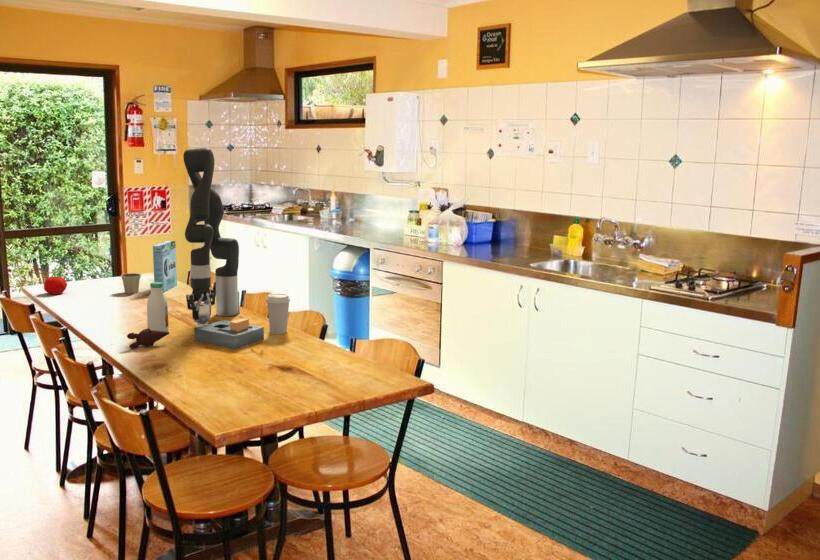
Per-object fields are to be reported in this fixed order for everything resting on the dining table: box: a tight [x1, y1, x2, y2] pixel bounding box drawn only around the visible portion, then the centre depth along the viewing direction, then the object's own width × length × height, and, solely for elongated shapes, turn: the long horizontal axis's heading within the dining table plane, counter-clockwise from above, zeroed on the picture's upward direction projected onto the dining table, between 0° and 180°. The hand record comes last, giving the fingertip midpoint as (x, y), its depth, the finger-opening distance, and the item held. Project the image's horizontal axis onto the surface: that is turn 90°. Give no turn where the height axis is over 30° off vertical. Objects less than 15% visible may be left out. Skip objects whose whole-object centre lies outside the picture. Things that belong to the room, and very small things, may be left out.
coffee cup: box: [265, 292, 291, 335], centre depth 296 cm, size 10×10×15 cm
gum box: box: [152, 240, 178, 293], centre depth 373 cm, size 20×5×23 cm, turn 178°
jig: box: [193, 319, 265, 350], centre depth 283 cm, size 16×20×6 cm
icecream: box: [126, 327, 170, 350], centre depth 273 cm, size 7×7×15 cm
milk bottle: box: [146, 281, 169, 332], centre depth 290 cm, size 8×8×20 cm
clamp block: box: [230, 317, 250, 332], centre depth 280 cm, size 7×3×3 cm, turn 151°
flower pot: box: [120, 272, 142, 295], centre depth 363 cm, size 9×9×9 cm
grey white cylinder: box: [193, 302, 211, 328], centre depth 292 cm, size 6×6×11 cm
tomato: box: [43, 276, 68, 295], centre depth 356 cm, size 9×10×8 cm
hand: (201, 317), depth 292 cm, fingers closed on grey white cylinder, 6 cm apart
